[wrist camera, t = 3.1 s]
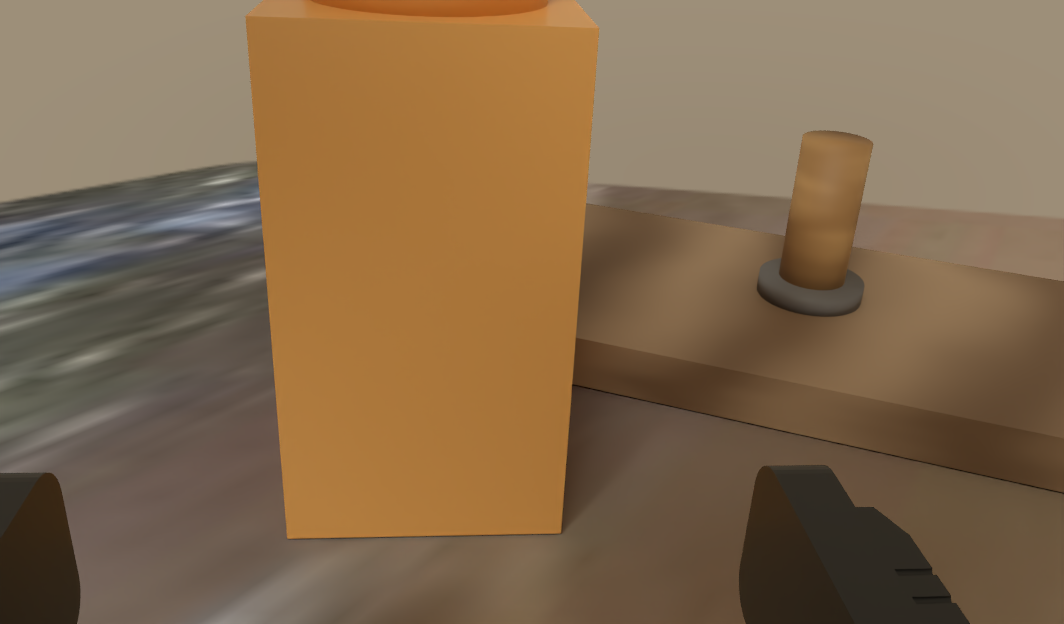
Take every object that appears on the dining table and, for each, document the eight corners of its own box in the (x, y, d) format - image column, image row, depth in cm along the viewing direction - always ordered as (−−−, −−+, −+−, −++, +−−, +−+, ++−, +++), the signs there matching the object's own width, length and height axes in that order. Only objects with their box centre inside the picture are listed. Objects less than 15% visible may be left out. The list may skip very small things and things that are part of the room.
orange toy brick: (287, 538, 21) (239, -61, 16) (318, 396, 26) (290, -86, 21) (560, 533, 21) (605, -45, 16) (536, 395, 27) (562, -73, 21)
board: (439, 354, 29) (440, 142, 26) (556, 234, 38) (566, 69, 35) (1108, 502, 23) (1201, 257, 21) (1052, 321, 33) (1111, 136, 30)
